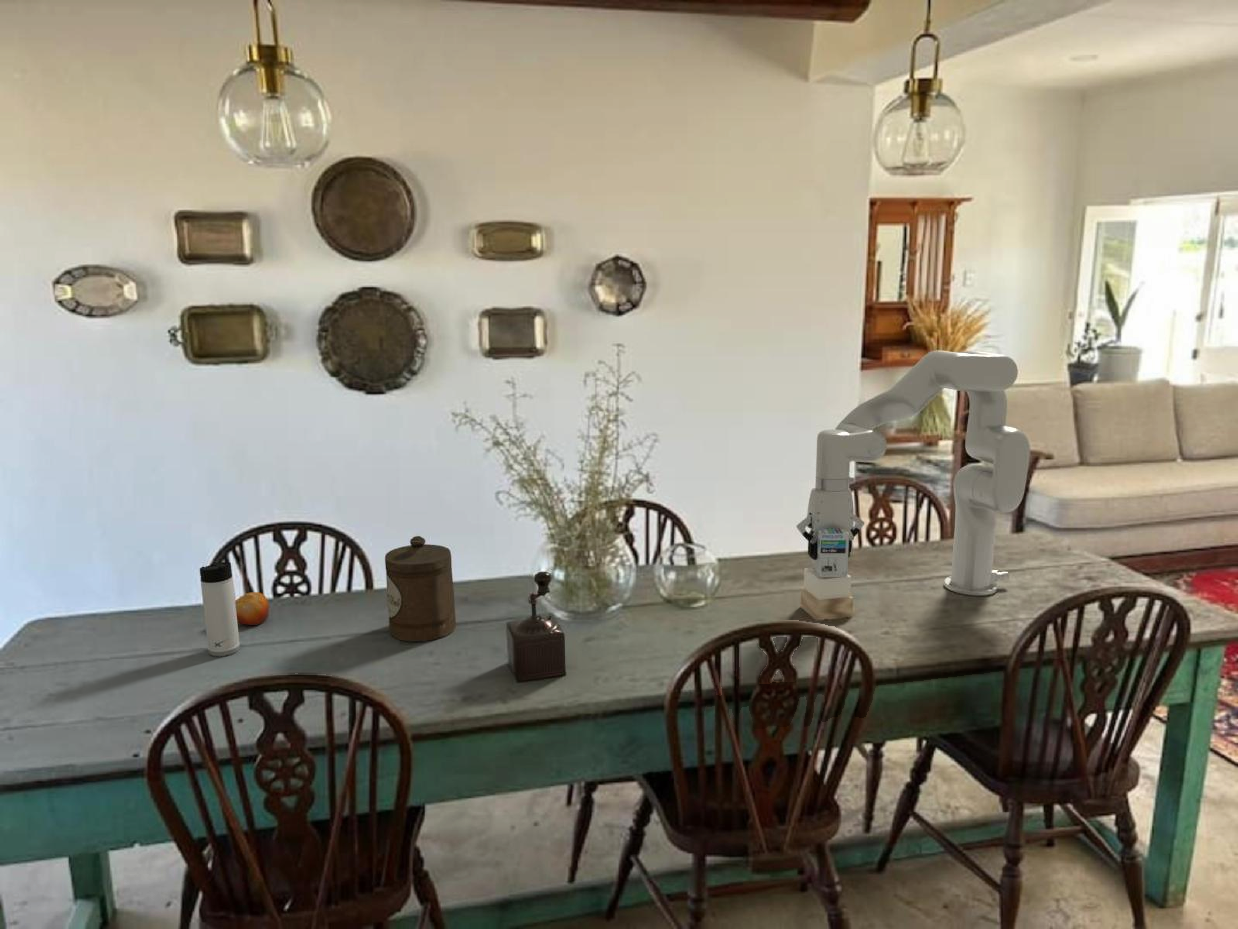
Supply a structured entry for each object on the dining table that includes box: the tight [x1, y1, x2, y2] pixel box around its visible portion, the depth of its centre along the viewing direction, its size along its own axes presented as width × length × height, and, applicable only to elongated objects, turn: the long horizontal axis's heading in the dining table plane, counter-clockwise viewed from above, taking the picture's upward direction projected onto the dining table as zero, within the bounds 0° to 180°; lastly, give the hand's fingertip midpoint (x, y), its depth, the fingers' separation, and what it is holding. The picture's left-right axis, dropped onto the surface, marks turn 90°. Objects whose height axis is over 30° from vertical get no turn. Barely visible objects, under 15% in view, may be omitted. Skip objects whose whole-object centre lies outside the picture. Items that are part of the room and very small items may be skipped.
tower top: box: [803, 567, 852, 600], centre depth 220 cm, size 8×8×5 cm
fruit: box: [235, 591, 270, 626], centre depth 218 cm, size 8×8×8 cm
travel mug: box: [199, 561, 241, 657], centre depth 200 cm, size 6×7×20 cm
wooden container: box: [384, 535, 457, 643], centre depth 211 cm, size 15×15×22 cm
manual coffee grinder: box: [505, 571, 567, 684], centre depth 193 cm, size 16×11×18 cm
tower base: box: [800, 587, 854, 622], centre depth 221 cm, size 9×9×5 cm
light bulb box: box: [811, 529, 849, 577], centre depth 218 cm, size 11×7×11 cm, turn 179°
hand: (829, 556), depth 219 cm, fingers closed on light bulb box, 7 cm apart
